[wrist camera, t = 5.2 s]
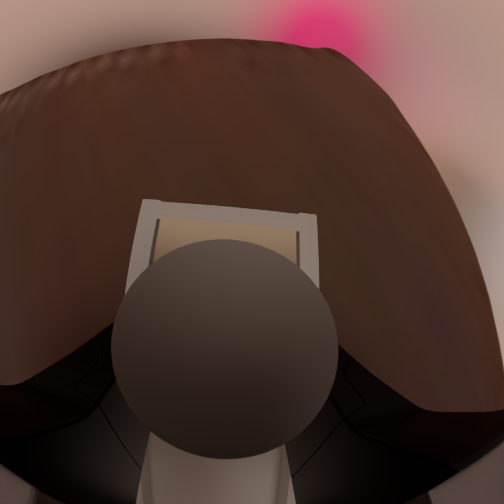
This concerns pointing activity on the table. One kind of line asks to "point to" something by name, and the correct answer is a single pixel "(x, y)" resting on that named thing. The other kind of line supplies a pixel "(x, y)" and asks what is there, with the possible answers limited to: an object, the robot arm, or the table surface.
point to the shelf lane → (197, 467)
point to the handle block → (224, 340)
